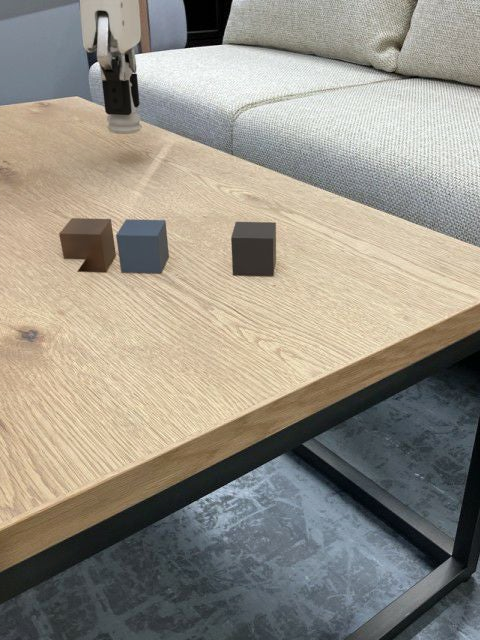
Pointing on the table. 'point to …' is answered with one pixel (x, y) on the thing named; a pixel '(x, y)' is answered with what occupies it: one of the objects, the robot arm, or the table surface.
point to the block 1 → (89, 243)
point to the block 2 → (143, 246)
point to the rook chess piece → (125, 122)
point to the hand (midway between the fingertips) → (122, 108)
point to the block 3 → (254, 248)
